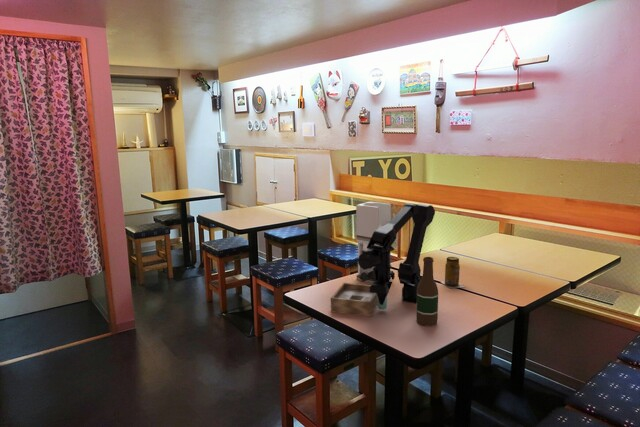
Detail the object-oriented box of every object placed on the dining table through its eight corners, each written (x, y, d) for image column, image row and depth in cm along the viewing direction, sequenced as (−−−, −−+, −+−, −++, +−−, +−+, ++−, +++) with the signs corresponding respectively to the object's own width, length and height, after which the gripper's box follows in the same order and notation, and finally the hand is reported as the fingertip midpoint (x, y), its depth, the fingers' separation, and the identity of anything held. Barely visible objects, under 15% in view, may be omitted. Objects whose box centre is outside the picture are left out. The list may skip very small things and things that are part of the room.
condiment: (455, 280, 202) (456, 255, 200) (464, 287, 194) (466, 260, 192) (440, 282, 200) (441, 256, 198) (449, 288, 192) (450, 262, 190)
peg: (387, 306, 171) (387, 286, 170) (385, 310, 168) (385, 289, 167) (379, 305, 172) (379, 286, 171) (377, 309, 169) (377, 289, 168)
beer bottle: (433, 328, 155) (435, 262, 151) (412, 323, 159) (413, 259, 155) (440, 320, 162) (442, 256, 157) (419, 315, 166) (421, 253, 161)
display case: (356, 279, 206) (356, 204, 200) (369, 273, 214) (369, 201, 207) (377, 284, 199) (377, 207, 192) (390, 278, 207) (390, 203, 200)
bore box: (380, 299, 182) (380, 286, 181) (370, 316, 166) (370, 302, 165) (343, 295, 187) (343, 282, 186) (330, 311, 171) (330, 298, 170)
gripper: (367, 255, 178) (367, 292, 181) (355, 269, 161) (355, 310, 164) (395, 257, 174) (394, 294, 177) (386, 271, 157) (385, 313, 160)
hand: (382, 302), depth 170 cm, fingers closed on peg, 3 cm apart
